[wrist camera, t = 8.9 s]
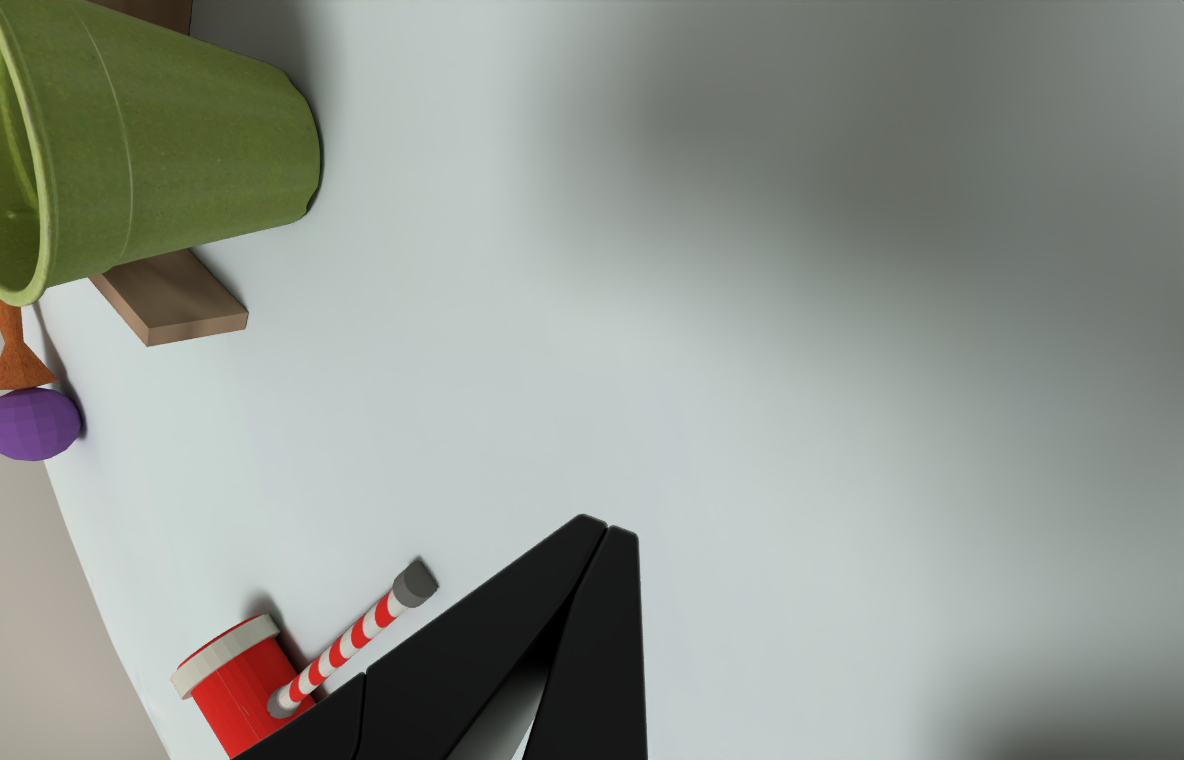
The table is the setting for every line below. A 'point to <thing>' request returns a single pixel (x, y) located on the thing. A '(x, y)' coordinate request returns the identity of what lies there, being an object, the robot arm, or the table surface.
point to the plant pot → (135, 144)
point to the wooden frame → (175, 279)
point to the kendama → (30, 399)
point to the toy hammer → (278, 667)
